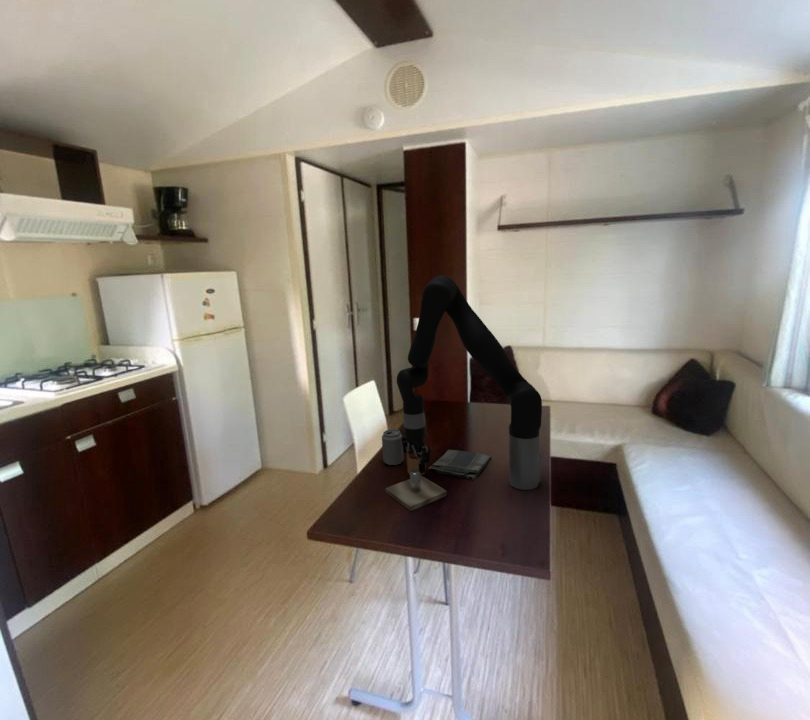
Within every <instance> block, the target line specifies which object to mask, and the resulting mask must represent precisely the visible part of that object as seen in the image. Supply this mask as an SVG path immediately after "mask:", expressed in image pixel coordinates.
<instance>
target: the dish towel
mask: <svg viewBox="0 0 810 720" xmlns="http://www.w3.org/2000/svg"><path fill="white" fill-rule="evenodd" d="M492 459H493V458H492V456H491V455H487V454H482V453H477V452H470V451H464V450H463V451H462V450H457V449H447V450H446V452H445V453H444V454H442V456H441V457H440V458H438V459H437V460H436V461H435V462H434V463H433V464H431V466H429V467H428V468H427V471H428V472H429V471H431V472H434V473H437V474H441V475H445V476H448V475H447V474H450V475H454V476H455V477H454V478H458V476H460V477H465V478H464V479H467V478H466V477H469V478H471V479H472V480H473V481H474V480H475V479H476V478H477V477H478V476H479V474H480V473H481V472H482V471H483V469H484V468H485V467H486V466H488V464H489V463H490V460H491V461H492ZM488 462H489V463H488ZM487 463H488V464H487ZM481 470H482V471H481ZM450 475H449V476H450ZM477 475H478V476H477ZM456 476H457V477H456ZM471 479H470V480H471ZM472 480H471V481H472Z"/></svg>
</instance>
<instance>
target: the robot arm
mask: <svg viewBox="0 0 810 720" xmlns="http://www.w3.org/2000/svg"><path fill="white" fill-rule="evenodd" d="M421 294H422V296H421V303H420V312H419V317H418V318H419V319H418V323H417V326H416V330H415V333H414V336H413V338H412V342H411V345H410V348H409V351H408V355H407V361H408V363H409V364H410V365H411V366H412V367H408V368H404V369H401V370H399V372H398V373H397V375H396V385H397V388H398V391H399V393H400V396H401V399H402V410H403V412H402V413H403V416H402V417H403V418H402V419H403V420H402V421H403V422H402V423H403V425H402V426H403V436H402V446H403V455H404V454H405V456H406V457H407V456H408V454H411V453H415V456H416V457H417V459H418V462H419V471H420V473H424V472H425V473H426V471H425V467H426V464H427V463H430V456H431V455H430V452H431V447H430V446H429V445H428V446H426V445H425V442H424V439H425V438H426V436H427V435H426V431H427V430H426V417H425V416H426V414H425V409H424V408H425V407H424V405H425V404H424V402H425V401H424V398H423V395H422V394H419V393H415V392H414V389H417V388H420V387H422V386H424V385H425V384H426V382H427V381H428V377H429V361H430V359H431V356H432V353H433V350H434V347H435V341H436V336H437V332H438V327H439V325H440V322H441V320H442V318H443V316H444V314H445V313H446V314H447V315H448V317H449V318H450V320H451V321H452V322H453V324H454V326H455V329H456V331H457V334H458V335H459V338H460V340H461V343H462V345H463V346H464V348H465V349H466V351H467V353H468V354H469V356H471V357H472V359H473V360H474V361H475V362H476V363H477V365H478V366H480V368H481V369H482V370H483V371H484V372H486V373H487V374H488V375H489V376H490V377H491V378H492V379H493V380H494V381H495V382H496V384H497V385H498V386H499V388H500V389H501V391H502V393H503V394H504V396H505V398H506V399H507V401H508V404H509V406H510V424H509V426H508V483H509V485H510V486H511V487H513V488H515V489H518V490H522V491H529V490H530V491H531V490H534V489H536V488H538V486H539V484H540V483H541V463H542V462H541V461H542V459H541V458H542V456H541V454H540V429H541V426H542V415H543V411H542V410H543V402H542V401H543V400H542V397H541V394H540V392H539V391H538V390H537V389H536V388H535V387H534V386H533V385H532V384H531V383H529V382H528V380H527V379H525V377H524V376H522V374H521V373H520V372H519V371H518V370H517V369H516V368H515V366H514V364H513V363H512V362H511V360H510V358H509V356H508V354H507V353H506V351H505V349H504V347H503V346H502V345H501V343H500V341H499V340H498V339H497V337H496V336H495V335H494V334H493V333H492V331H491V330H490V329H489V328H488V327H487V325H486V324H485V323H484V322H483V320H482V319H481V318H480V317H479V315H478V314H477V313H476V312H475V311H474V309H473V308H472V307H471V305H470V304H469V302H468V301H467V299H466V297H465V296H464V295H463V292H462V291H461V289H460V288H459V286H458V285H457V283H456V281H454V280H453V279H452V278H451V277H449V276H447V275H441V274H439V275H437V276H435V277H433V278H432V279H431V280H430V281H429V282H428V283H427V284H426V285H425V286H424V288H423V290H422V293H421ZM418 453H421V454H418ZM420 456H422V460H421V458H420Z"/></svg>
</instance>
